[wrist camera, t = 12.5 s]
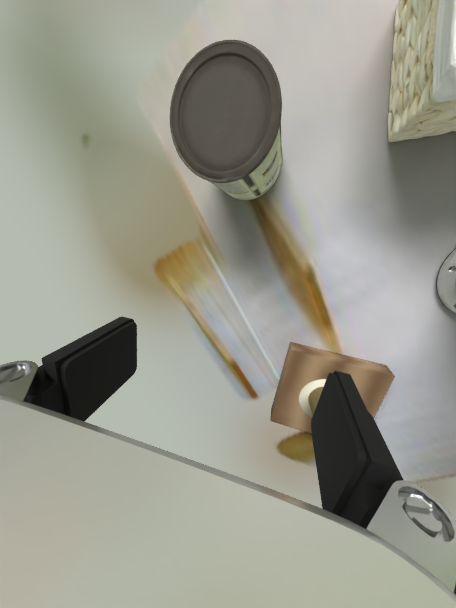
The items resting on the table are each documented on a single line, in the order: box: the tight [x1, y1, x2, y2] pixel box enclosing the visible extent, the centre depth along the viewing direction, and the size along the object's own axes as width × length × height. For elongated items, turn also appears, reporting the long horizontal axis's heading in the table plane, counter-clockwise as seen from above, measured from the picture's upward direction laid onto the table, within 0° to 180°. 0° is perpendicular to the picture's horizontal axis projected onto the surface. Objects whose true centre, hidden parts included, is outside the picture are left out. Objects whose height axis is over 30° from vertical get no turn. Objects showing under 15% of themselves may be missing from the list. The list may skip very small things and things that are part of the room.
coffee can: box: [170, 40, 282, 200], centre depth 26 cm, size 10×10×14 cm
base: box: [271, 342, 395, 434], centre depth 39 cm, size 16×16×3 cm
